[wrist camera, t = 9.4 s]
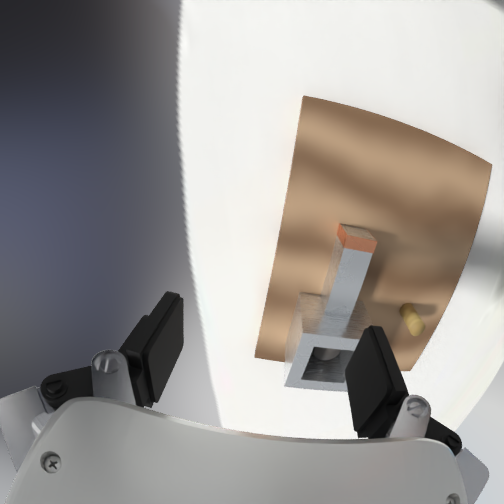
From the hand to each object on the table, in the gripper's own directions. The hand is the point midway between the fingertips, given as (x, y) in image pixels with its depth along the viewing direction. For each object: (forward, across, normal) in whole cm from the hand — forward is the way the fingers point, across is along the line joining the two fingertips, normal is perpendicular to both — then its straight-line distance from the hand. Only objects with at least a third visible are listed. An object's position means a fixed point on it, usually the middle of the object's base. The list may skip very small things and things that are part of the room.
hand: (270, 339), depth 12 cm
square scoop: (+13, -6, +4) cm, 15 cm away
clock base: (+14, -10, +1) cm, 17 cm away
